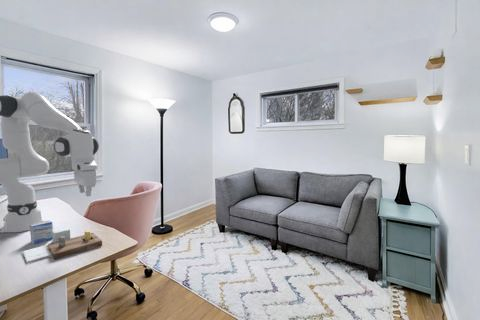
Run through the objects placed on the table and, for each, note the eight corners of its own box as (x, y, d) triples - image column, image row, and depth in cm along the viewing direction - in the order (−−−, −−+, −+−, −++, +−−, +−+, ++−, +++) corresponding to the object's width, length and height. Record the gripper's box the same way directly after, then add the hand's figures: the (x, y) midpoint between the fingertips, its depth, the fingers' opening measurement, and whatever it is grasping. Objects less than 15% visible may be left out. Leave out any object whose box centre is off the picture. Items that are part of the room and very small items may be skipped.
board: (48, 249, 108) (47, 235, 107) (93, 237, 121) (92, 225, 121) (54, 259, 99) (53, 244, 99) (102, 245, 112) (101, 232, 112)
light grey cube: (55, 245, 112) (54, 233, 111) (52, 241, 116) (51, 229, 115) (70, 241, 116) (69, 229, 116) (67, 237, 120) (66, 226, 120)
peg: (84, 243, 114) (83, 231, 113) (90, 242, 116) (89, 230, 115) (86, 245, 112) (85, 233, 112) (91, 243, 114) (91, 231, 113)
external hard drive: (46, 248, 111) (52, 257, 102) (22, 254, 105) (26, 265, 96) (46, 244, 110) (52, 253, 102) (22, 251, 104) (26, 261, 96)
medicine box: (33, 244, 113) (31, 226, 112) (30, 241, 116) (29, 224, 115) (53, 238, 120) (52, 221, 119) (50, 236, 122) (49, 219, 121)
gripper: (69, 163, 115) (71, 191, 116) (81, 167, 101) (83, 199, 102) (84, 162, 119) (86, 189, 121) (98, 166, 106) (100, 196, 107)
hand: (85, 194), depth 111 cm, fingers open, 8 cm apart
